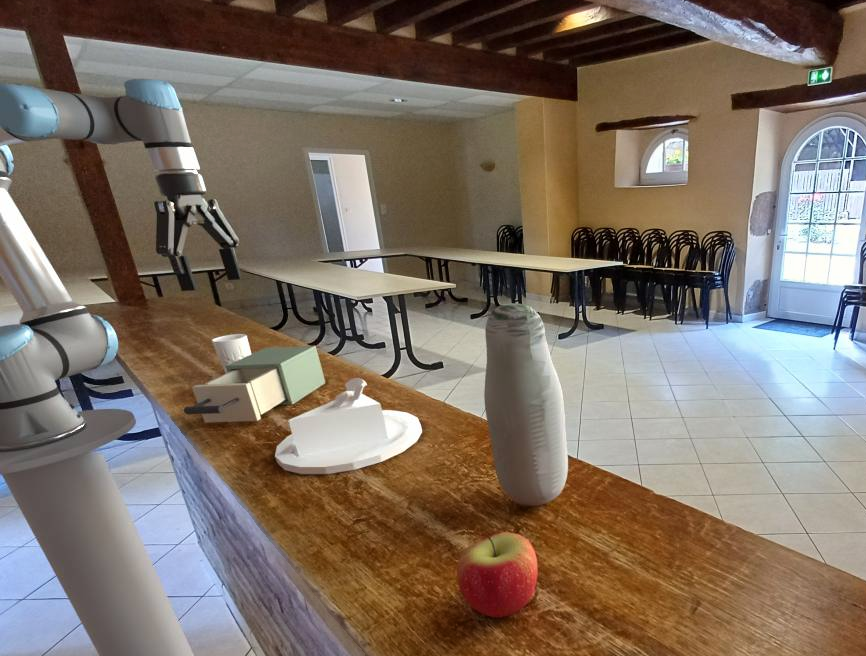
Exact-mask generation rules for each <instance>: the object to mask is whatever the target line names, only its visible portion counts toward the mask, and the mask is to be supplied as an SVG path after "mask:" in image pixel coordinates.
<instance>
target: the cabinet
mask: <svg viewBox="0 0 866 656" xmlns="http://www.w3.org/2000/svg"><path fill="white" fill-rule="evenodd" d="M269 367H278V368H279V372H280V375H281V379H282V382H283V385H284V389H285V392H286V396H287V399H286V400H284V401H283V402H281V403H279V404H278V405H277V406H288V405H289V406H292V405H295V404H296V403H297V402H299V401H301V400H302V399H303V398H305V397H306V396H308V395H309V394H312V393H313V392H314V391H316V390H317V389H319V388H320V387H322V386H324V385H325V384H326V379H325V376H324V375H325V374H324V372H323V368H322V364H321V361H320V357H319V353H318V350H317V346H316V345H301V346H300V345H299V346H297V345H296V346H295V345H294V346H275V347H264V348H262V349H260V350H258V351H256V352H254V353H251V355H249V356H246V357H244V358H242V359H240V360H237V361H235V362H233V363H231V364H229V365H226V369H227V372H230V371H232V370H235V369H244V368H269Z"/></svg>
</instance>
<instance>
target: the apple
mask: <svg viewBox="0 0 866 656" xmlns="http://www.w3.org/2000/svg"><path fill="white" fill-rule="evenodd" d="M538 571H539V569H538V559H537V555H536V551H535V549H534V547H533V545H532V543H531V542H530V541H529V540H528V538H525V536H523V535H520V534H518V533H513V532H498V533H495V534H492V535H489V536H487V537H484V538H483V539H481V540H479V541H477V542H475V543H473V544H472V545H470V546H468V547H467V548H466V549H465V550H464V551H463V552H462V553H461V555H460V556H459V558H458V561H457V566H456V579H457V584H458V588H459V591H460V593H461V595H462V597H463V599H464V600H465V602H467V604H468V605H469V606H470V607H471V608H472V609H474V610H475V611H476V612H478V613H480V614H482V615H484V616H487V617H492V618H504V617H507V616H511V615H513V614H515V613H517V612H518V611H520V610H521V609H523V608H524V607H526V605H527V604H528V603H529V601H530V599H531V598H532V596H533V594H534V591H535V589H536V584H537V581H538Z"/></svg>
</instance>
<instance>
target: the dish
mask: <svg viewBox="0 0 866 656" xmlns="http://www.w3.org/2000/svg"><path fill="white" fill-rule="evenodd" d="M367 385H368V384H367V382H366V381H365V380H364V379H363V378H361V377H354V378H352V379H350V380H348V381H347V382H345V383H344V386H345V390H346V391H342V392H341V393H338V394H337V395H336V396H335V397H334V398H335V399H334V400H332V401H330V402H327V403H325V404H323V405H319V406H317V407H316V408H313V409H311V410H308V411H306V412H304V413H302V414H299V415H297V416H294V417H292V418H290V419H288V420H287V421H288V424H289V428H290V431H291V434H290V435H287V436H286V437H285V438H284V439H282V441H281V442H280V443H279V444H277V445H276V449H275V452H274V458H275V461H276V463H277V464H278V465H279V466H280V467H281V468H282V469H283V470H284V471H287V472H291V473H295V474H299V475H331V474H335V473H342V472H349V471H355V470H358V469H361V468H365V467H369V466H372V465H375V464H378V463H382V462H384V461H387V460H389V459H390V458H393V457H395V456H397V455H399V454H402V453H403V452H405V451H406V450H407V449H409V448H410V447H411V446H413V445H415V444H416V443H417V442H418V440H419V438H420V436H421V435H422V433H423V429H422V425H421V422H420V420H419V418H418V417H417V416H416V415H413V414H412V413H409V412H407V411H400V410H392V409H385V410H384V409H383V408H382V405H381V403H380V402H378V401H377V400H374V399H373V398H370V397H369V396H366V395H365V394H363V390H364V388H365V387H366V386H367Z"/></svg>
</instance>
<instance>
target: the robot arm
mask: <svg viewBox="0 0 866 656" xmlns="http://www.w3.org/2000/svg"><path fill="white" fill-rule="evenodd" d="M123 83H124V84H123V86H124V89H125V92H124V94H125V95H121V96H98V95H97V96H96V95H89V94H84V93H83V94H82V93H76V92H67V91H61V90H55V89H49V88H41V87H36V86H31V85H27V84H23V83H17V84H16V83H12V84H11V83H0V278H1V279H2V281H3V283H4V285H5V286H6V287H7V289H8V291H9V293H11V295H12V297H13V299H14V300H15V301H16V303H17V304H18V306H19V308H20V310H21V311H22V315H21V318H20V319H19V322H18V323H15V324H7V325H1V326H0V452H11V451H19V450H25V449H31V448H35V447H40V446H43V445H47V444H51V443H54V442H57V441H60V440H63V439H66V438H69V437H71V436H73V435H75V434H77V433H79V432H81V431H83V430H84V429H85V428H86V427H87V425H86V422H85V420H84V419H83V417H82V416H81V415H80V414H78V411H77V410H76V406H74V404H72V403H69V402H68V400H66V399H65V397H63V396H62V394H61V391H60V390H59V388H58V386H57V383H56V381H58V380H62V379H65V378H68V377H72V376H75V375H77V374H80V373H84V372H87V371H92V370H95V369H96V370H97V369H98V368H99V367H102V366H104V365H107V364H108V363H110V362H112V361H113V360H114V359H115V357H116V355H117V352H118V350H119V339H118V336H117V333H116V331H115V329H114V328H113V326H112V325H111V324H110V323H109V322H108V321H107V320H104V318H103V317H101V316H99V315H95V314H91V313H90V312H89V310H88V309H87V307H86V305H82V304H80V303H78V302H75V301H74V300H73V299H72V297H71V296H70V294H69V292H68V290H67V289H66V287H65V285H64V284H63V282H62V281H61V279H60V277H59V276H58V274H57V272H56V271H55V270H56V269H54V267H53V265H52V264H51V262H50V259H48V257H47V255H46V254H45V252H44V250H43V248H42V246H41V245H40V243H39V242H38V240H37V238H36V237H35V235H34V233H33V231H32V230H31V228H30V227H29V225H28V223H27V222H26V220H25V218H24V216H23V215H22V213H21V212H20V210H19V208H18V206H17V204H16V203H15V201H14V199H13V198H12V196H11V194H10V193H9V189H10V187H11V185H12V183H13V180H12V179H11V178H10V175H11V174H12V172H13V170H14V167H15V165H14V163H12V161H14V156H13V153H12V151H11V149H10V147H9V146H10V145H14V144H15V145H16V144H23V143H29V142H38V141H46V140H57V139H58V140H75V141H86V142H90V143H92V144H96V145H112V146H115V145H119V144H125V143H133V142H142V143H143V145H144V148H145V150H146V153H147V156H148V159H149V162H150V165H151V168H152V171H153V172H155V173H157V174H156V175H155V177H154V179H155V181H156V184H157V187H158V191H159V193H160V195H161V196H162V197H166V200H156V201H154V202H153V205H154V209H155V212H156V224H155V225H156V227H155V228H156V229H155V231H156V232H155V252H156V253H157V254H158V255H161V256H162V257H163V258H168V259H169V262H170V265H171V268H172V271H173V273H174V274H175V276H176V278H177V282H178V285H179V287H180V290H181V292H189V291H190V292H192V291H198V286H197V284H196V281H195V278H194V275H193V272H192V269H191V266H190V263H189V260H188V256H187V255H182V254H183V251H184V247H185V243H186V239H187V236H188V231H189V228H190V227H192V225H198V226H200V227H202V228H203V229H204V230H205V232H206V233H207V234H208V235H209V236H210V238H212V239H213V240H214V241H215V243H216V244H217V245H218V246H219V247H220V248H219V249H218V252H219V255H220V259H221V261H222V264H223V268H224V271H225V275H226V277H227V281H233V280H234V281H238V280H243V276H242V274H241V269H240V267H239V264H238V258H237V255H236V252H235V248H237V249H238V247H239V244H240V239H239V238H238V236H237V234H236V232H235V231H234V229H233V228H232V226H231V225H230V223H229V221H228V220H227V219H226V217H225V216H224V214H223V212H222V210H221V209H220V206H219V204H218V200H217V199H216V198H207V199H205V198H204V197H203V196H204V195H206V194H207V193H208V192H207V188H206V184H205V181H204V178H203V175H201V174H200V173H198V172H199V171H200V170H201V168H200V164H199V161H198V157H197V154H196V152H195V149H194V146H193V143H192V141H191V137H190V134H189V131H188V127H187V122H186V119H185V116H184V112H183V107H182V106H181V103H180V100H179V98H178V95H177V93H176V90H175V88H174V87H173V85H172V84H170V83H169V82H168V81H167V82H166V81H164V80H159V79H153V78H151V79H150V78H133V79H132V78H131V79H128V80H126V81H124V82H123Z"/></svg>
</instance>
